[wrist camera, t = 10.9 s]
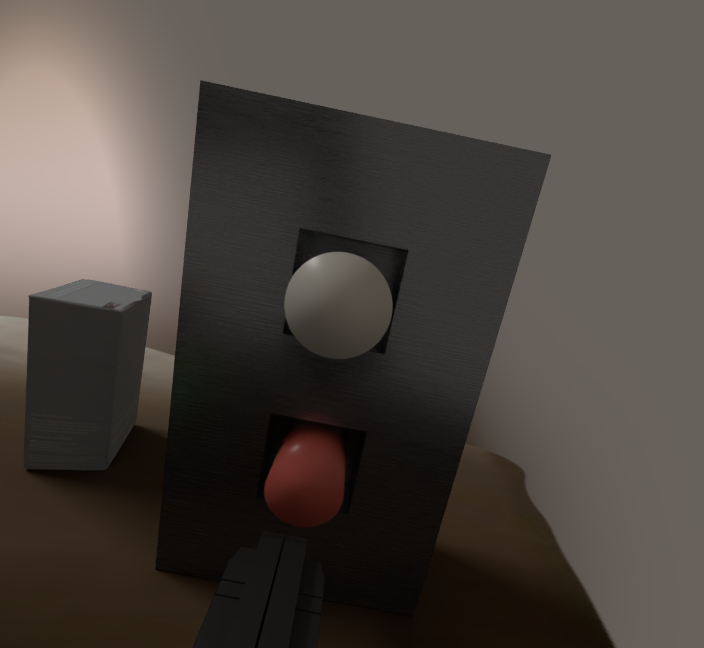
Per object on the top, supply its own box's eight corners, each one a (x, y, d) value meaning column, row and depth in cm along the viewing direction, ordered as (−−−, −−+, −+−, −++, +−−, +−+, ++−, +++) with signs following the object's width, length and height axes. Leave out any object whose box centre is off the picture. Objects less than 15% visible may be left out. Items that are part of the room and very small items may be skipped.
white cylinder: (379, 368, 14) (403, 264, 13) (276, 348, 14) (293, 241, 13) (374, 338, 19) (391, 261, 18) (298, 323, 19) (311, 245, 18)
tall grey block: (413, 616, 23) (551, 155, 17) (155, 569, 22) (200, 80, 16) (400, 532, 30) (495, 184, 24) (203, 495, 29) (247, 132, 23)
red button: (335, 533, 19) (350, 465, 18) (259, 519, 19) (270, 450, 18) (340, 476, 24) (352, 420, 23) (279, 464, 23) (289, 408, 23)
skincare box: (70, 421, 35) (74, 276, 32) (145, 424, 38) (156, 288, 34) (15, 475, 28) (13, 289, 24) (114, 474, 30) (124, 303, 26)
